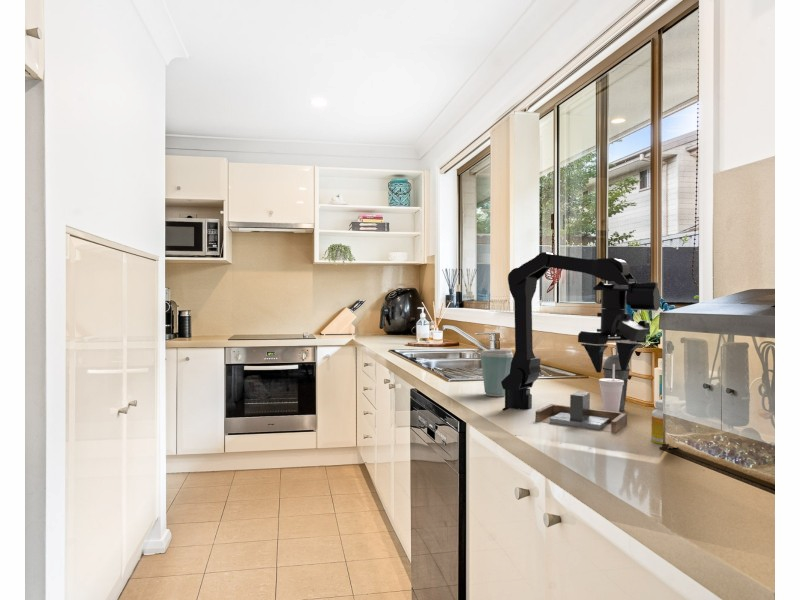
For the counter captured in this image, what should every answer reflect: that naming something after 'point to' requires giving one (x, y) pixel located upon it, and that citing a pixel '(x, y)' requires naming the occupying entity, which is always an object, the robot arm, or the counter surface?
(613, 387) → the smoothie
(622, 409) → the beverage cup
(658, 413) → the supplement bottle
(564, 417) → the cover plate
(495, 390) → the disposable coffee cup
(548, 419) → the walnut box
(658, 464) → the counter surface
